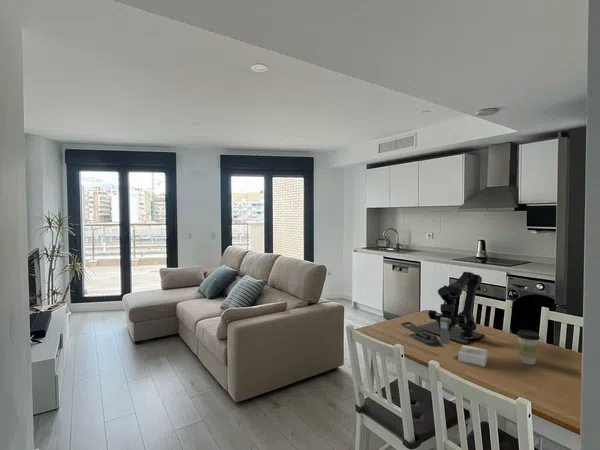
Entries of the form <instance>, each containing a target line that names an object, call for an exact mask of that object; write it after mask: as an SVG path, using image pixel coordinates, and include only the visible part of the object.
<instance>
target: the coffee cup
mask: <svg viewBox="0 0 600 450" xmlns="http://www.w3.org/2000/svg"><path fill="white" fill-rule="evenodd" d="M516 336H517V344H518V345H517V346H518V351H519V356H520V358H519V359H520V362H522V364H525V365H535V364H536V361H537V357H538V350H539V341H540V339H541V337H540V335H539V333H538V332H536V331H533V330H530V329H529V330H528V329H520V330H518V331H517V333H516Z"/></svg>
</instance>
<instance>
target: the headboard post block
mask: <svg viewBox="0 0 600 450" xmlns="http://www.w3.org/2000/svg"><path fill="white" fill-rule="evenodd" d="M457 354H458V355H457V357H458V359H457V361H458V362H459V363H464V364H466V365H467V364H469V365H472V366H477V367H483V368H485V367H486V364H487V361H488V358H489V357H488V356H489V354H488V349H484V348H479V347H474V346H470V345H464V344H462V345H461V347H460V349H459V351H458V352H457Z"/></svg>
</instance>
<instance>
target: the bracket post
mask: <svg viewBox="0 0 600 450" xmlns="http://www.w3.org/2000/svg"><path fill="white" fill-rule="evenodd" d="M450 322H451V319H450V318H445V317H442V318H441V319H440V329H439V332H440V333H439V334H440V338H439V344H445V345H450V343H451V331H450V332H448V330H449V326H450Z"/></svg>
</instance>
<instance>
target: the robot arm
mask: <svg viewBox="0 0 600 450" xmlns="http://www.w3.org/2000/svg"><path fill="white" fill-rule="evenodd" d="M482 282H483V277H482V276H481V275H479V274H474V272H471V271H463V272H462V275H461V276H459V278H458V279H456V280H455V282H454V283H451V284H449V285H443V286H442V287H440V288H438V290H437V294H438V295H439V297H440V298H441V300H442V301H443V303H441V304H440V307H439V308H440V313H439V312H437V310H434V309H433V310H432V309H429V310H428V312H427V315H428V317H429V319H430V320H435V321H436V322H438V327H439V330H440V319H441V318H442V317H445V318H450V326H449V330H448V332H450V333H451V331H452V330H453V328H454V327H455V326H457V325H458V327H459V328H461V330H460V336H462V337H468V338H470V337H473V336H475V335H474V331H477V328H478V327H477V323H476V322H475V317H474V315H473V311H474V304H475V298H476V294H477V290H478V289H479V287H480V286H481V284H482ZM465 286H466V287H467V290H466V294H465V295H466V296H465V300H464V305H463V310H462V311H461V312H460V311H459V313H457V314H456V315H454V312H455V310H456V304H457V300H456V298H460V297H461V295H462V294H463V288H464V287H465ZM455 297H456V298H455Z"/></svg>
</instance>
